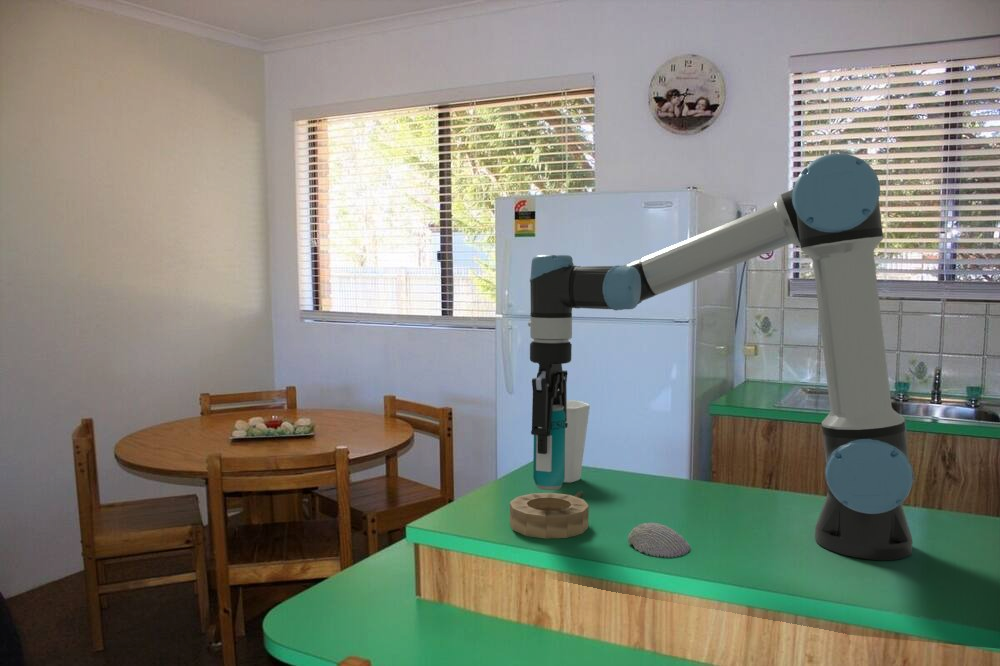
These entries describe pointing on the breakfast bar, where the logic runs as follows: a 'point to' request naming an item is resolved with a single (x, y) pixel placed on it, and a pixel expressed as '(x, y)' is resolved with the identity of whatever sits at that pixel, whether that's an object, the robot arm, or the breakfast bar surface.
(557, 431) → the beverage can
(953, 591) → the breakfast bar surface
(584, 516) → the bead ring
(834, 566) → the breakfast bar surface
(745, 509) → the breakfast bar surface
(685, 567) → the breakfast bar surface
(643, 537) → the seashell
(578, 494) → the brown stick
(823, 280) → the robot arm
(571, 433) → the cup
